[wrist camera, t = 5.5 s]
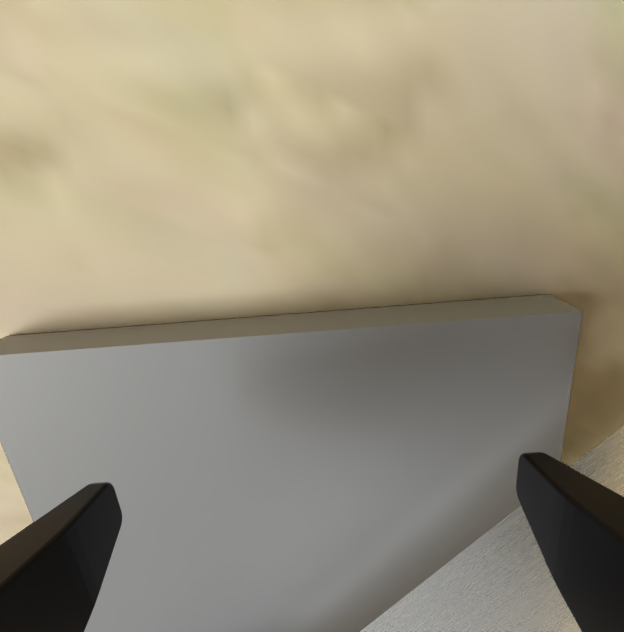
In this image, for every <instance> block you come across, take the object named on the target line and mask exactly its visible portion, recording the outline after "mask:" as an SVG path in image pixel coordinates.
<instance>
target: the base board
mask: <svg viewBox="0 0 624 632" xmlns="http://www.w3.org/2000/svg"><path fill="white" fill-rule="evenodd" d="M582 312H583V311H581V310H579V309H577V308H575V307H573V306H571V305H570V304H568V303H566V302H564V301H562V300H560V299H558V298H556V297H554V296H552V295H550V294H546V295H533V296H520V297H507V298H494V299H481V300H468V301H455V302H442V303H429V304H416V305H403V306H390V307H377V308H364V309H351V310H338V311H325V312H312V313H299V314H286V315H273V316H260V317H247V318H234V319H221V320H208V321H195V322H182V323H169V324H156V325H143V326H130V327H117V328H104V329H91V330H78V331H65V332H53V333H40V334H27V335H14V336H6V337H4V338H2V339H0V442H1V445H2V447H3V450H4V452H5V454H6V457H7V459H8V462H9V464H10V467H11V469H12V471H13V474H14V476H15V479H16V481H17V483H18V486H19V488H20V491H21V493H22V495H23V498H24V500H25V503H26V505H27V508H28V510H29V512H30V515H31V517H32V520H33V522H35V521H36V520H38V519H39V518H40V517H42V516H43V515H45V514H46V513H48V512H49V511H51V510H52V509H53V508H55V507H56V506H58V505H59V504H61V503H62V502H64V501H65V500H66V499H68V498H69V497H71V496H72V495H74V494H75V493H77V492H78V491H79V490H81V489H82V488H84V487H85V486H87V485H88V484H91V483H101V482H109V483H111V484H112V485H113V486H114V489H115V492H116V495H117V498H118V502H119V505H120V508H121V511H122V524H121V528H120V531H119V534H118V537H117V540H116V543H115V546H114V549H113V552H112V556H111V559H110V562H109V565H108V568H107V571H106V574H105V577H104V580H103V583H102V586H101V589H100V592H99V595H98V598H97V601H96V603H95V606H94V609H93V611H92V614H91V616H90V619H89V621H88V623H87V626H86V628H85V630H84V632H360V631H361V630H363V629H364V628H365V627H366V626H368V625H369V624H370V623H371V622H373V621H374V620H375V619H377V618H378V617H379V616H380V615H382V614H383V613H384V612H385V611H387V610H388V609H389V608H391V607H392V606H393V605H394V604H396V603H397V602H398V601H400V600H401V599H402V598H403V597H405V596H406V595H407V594H408V593H410V592H411V591H412V590H414V589H415V588H416V587H417V586H419V585H420V584H421V583H422V582H424V581H425V580H426V579H428V578H429V577H430V576H431V575H433V574H434V573H435V572H437V571H438V570H439V569H440V568H442V567H443V566H444V565H445V564H447V563H448V562H449V561H451V560H452V559H453V558H454V557H456V556H457V555H458V554H460V553H461V552H462V551H463V550H465V549H466V548H467V547H468V546H470V545H471V544H472V543H474V542H475V541H476V540H477V539H479V538H480V537H481V536H482V535H484V534H485V533H486V532H488V531H489V530H490V529H491V528H493V527H494V526H495V525H497V524H498V523H499V522H500V521H502V520H503V519H504V518H505V517H507V516H508V515H509V514H511V513H512V512H513V511H514V510H516V509H517V508H518V507H519V506H521V504H520V502H519V499H518V496H517V492H516V480H517V470H518V460H519V457H520V455H521V454H523V453H530V452H543V453H546V454H548V455H549V456H551V457H553V458H555V459H557V460H558V461H560V460H561V453H562V447H563V440H564V433H565V426H566V420H567V413H568V406H569V400H570V393H571V386H572V379H573V373H574V366H575V359H576V353H577V346H578V339H579V332H580V326H581V319H582Z"/></svg>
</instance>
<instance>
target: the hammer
mask: <svg viewBox="0 0 624 632" xmlns="http://www.w3.org/2000/svg"><path fill="white" fill-rule="evenodd" d="M571 468H573V469H574V470H576V471H578V472H580V473H582V474H583V475H585V476H587V477H589V478H591V479H592V480H594V481H596V482H598V483H600V484H601V485H603V486H605V487H607V488H609V489H610V490H612V491H614V492H616V493H618V494H619V495H621V496H623V497H624V425H623V426H622V427H620V428H619V429H618V430H617V431H615V432H614V433H613V434H611V435H610V436H609V437H608V438H606V439H605V440H604V441H602V442H601V443H600V444H599V445H597V446H596V447H595V448H594V449H592V450H591V451H590V452H588V453H587V454H586V455H585V456H583V457H582V458H581V459H579V460H578V461H577V462H576V463H574V464H573V465H572V466H571ZM360 632H582V631H581V629H580V628H579V626H578V624H577V622H576V620H575V618H574V617H573V615H572V613H571V611H570V609H569V608H568V606H567V604H566V602H565V600H564V598H563V597H562V595H561V593H560V591H559V589H558V587H557V585H556V583H555V581H554V580H553V577H552V575H551V573H550V571H549V569H548V567H547V564H546V562H545V560H544V557H543V555H542V553H541V551H540V548H539V546H538V544H537V541H536V539H535V537H534V534H533V532H532V530H531V527H530V525H529V523H528V520H527V518H526V516H525V513H524V511H523V509H522V506H519V507H518V508H517V509H516V510H514V511H513V512H512V513H511V514H509V515H508V516H507V517H505V518H504V519H503V520H502V521H500V522H499V523H498V524H497V525H495V526H494V527H493V528H491V529H490V530H489V531H488V532H486V533H485V534H484V535H482V536H481V537H480V538H479V539H477V540H476V541H475V542H474V543H472V544H471V545H470V546H468V547H467V548H466V549H465V550H463V551H462V552H461V553H460V554H458V555H457V556H456V557H454V558H453V559H452V560H451V561H449V562H448V563H447V564H445V565H444V566H443V567H442V568H440V569H439V570H438V571H437V572H435V573H434V574H433V575H431V576H430V577H429V578H428V579H426V580H425V581H424V582H422V583H421V584H420V585H419V586H417V587H416V588H415V589H414V590H412V591H411V592H410V593H408V594H407V595H406V596H405V597H403V598H402V599H401V600H400V601H398V602H397V603H396V604H394V605H393V606H392V607H391V608H389V609H388V610H387V611H385V612H384V613H383V614H382V615H380V616H379V617H378V618H377V619H375V620H374V621H373V622H371V623H370V624H369V625H368V626H366V627H365V628H364V629H363V630H361V631H360Z"/></svg>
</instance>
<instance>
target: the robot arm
mask: <svg viewBox="0 0 624 632" xmlns="http://www.w3.org/2000/svg"><path fill="white" fill-rule="evenodd" d="M516 492H517V496H518V499H519V502H520V504H521V506H522V509H523V511H524V513H525V516H526V518H527V520H528V523H529V525H530V527H531V530H532V532H533V534H534V537H535V539H536V541H537V544H538V546H539V548H540V551H541V553H542V555H543V557H544V560H545V562H546V564H547V567H548V569H549V571H550V573H551V575H552V577H553V580H554V581H555V583H556V585H557V587H558V589H559V591H560V593H561V595H562V597H563V598H564V600H565V602H566V604H567V606H568V608H569V609H570V611H571V613H572V615H573V617H574V618H575V620H576V622H577V624H578V626H579V628H580V629H581V631H582V632H624V497H623V496H621V495H619V494H618V493H616V492H614V491H612V490H610V489H609V488H607V487H605V486H603V485H601V484H600V483H598V482H596V481H594V480H592V479H591V478H589V477H587V476H585V475H583V474H582V473H580V472H578V471H576V470H574V469H573V468H571V467H569V466H567V465H566V464H564V463H562V462H560V461H558V460H557V459H555V458H553V457H551V456H549V455H548V454H546V453H543V452H530V453H523V454H521V455H520V457H519V460H518V470H517V480H516ZM121 524H122V511H121V508H120V505H119V502H118V498H117V495H116V492H115V489H114V486H113V485H112V484H111V483H109V482H101V483H91V484H88V485H87V486H85V487H84V488H82V489H81V490H79V491H78V492H77V493H75V494H74V495H72V496H71V497H69V498H68V499H66V500H65V501H64V502H62V503H61V504H59V505H58V506H56V507H55V508H53V509H52V510H51V511H49V512H48V513H46V514H45V515H43V516H42V517H40V518H39V519H38V520H36V521H35V522H33V523H32V524H30V525H29V526H27V527H26V528H25V529H23V530H22V531H20V532H19V533H17V534H16V535H14V536H13V537H11V538H10V539H9V540H7V541H6V542H4V543H3V544H1V545H0V632H84V630H85V628H86V626H87V623H88V621H89V619H90V616H91V614H92V611H93V609H94V606H95V603H96V601H97V598H98V595H99V592H100V589H101V586H102V583H103V580H104V577H105V574H106V571H107V568H108V565H109V562H110V559H111V556H112V552H113V549H114V546H115V543H116V540H117V537H118V534H119V531H120V528H121Z"/></svg>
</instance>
